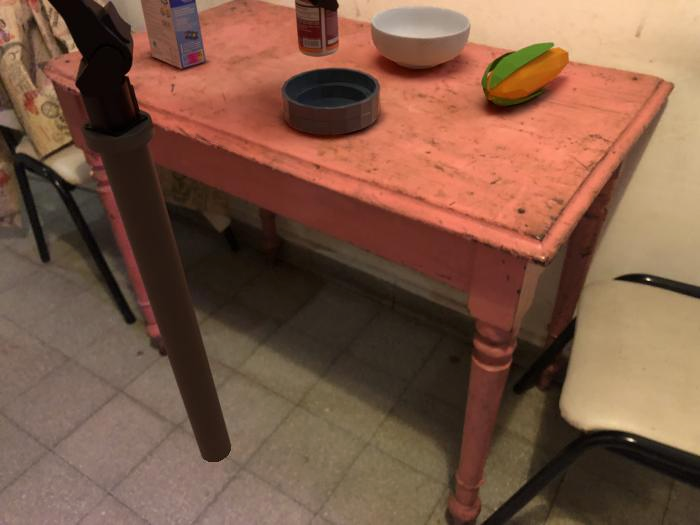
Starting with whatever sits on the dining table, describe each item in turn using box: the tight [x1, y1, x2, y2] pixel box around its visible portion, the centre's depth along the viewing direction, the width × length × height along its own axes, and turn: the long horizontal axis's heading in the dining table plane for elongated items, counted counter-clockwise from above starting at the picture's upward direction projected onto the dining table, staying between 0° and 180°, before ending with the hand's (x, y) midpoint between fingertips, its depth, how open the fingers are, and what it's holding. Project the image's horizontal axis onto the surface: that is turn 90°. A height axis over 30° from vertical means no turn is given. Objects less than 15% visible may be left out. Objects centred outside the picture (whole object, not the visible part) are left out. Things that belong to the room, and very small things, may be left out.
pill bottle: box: [294, 0, 340, 58], centre depth 87 cm, size 6×6×11 cm
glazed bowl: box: [280, 67, 381, 136], centre depth 86 cm, size 14×14×4 cm
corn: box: [480, 41, 570, 107], centre depth 90 cm, size 7×8×20 cm
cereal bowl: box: [370, 5, 472, 70], centre depth 101 cm, size 17×17×7 cm
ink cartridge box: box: [140, 0, 207, 70], centre depth 102 cm, size 10×6×14 cm, turn 47°
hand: (324, 3), depth 87 cm, fingers closed on pill bottle, 6 cm apart
